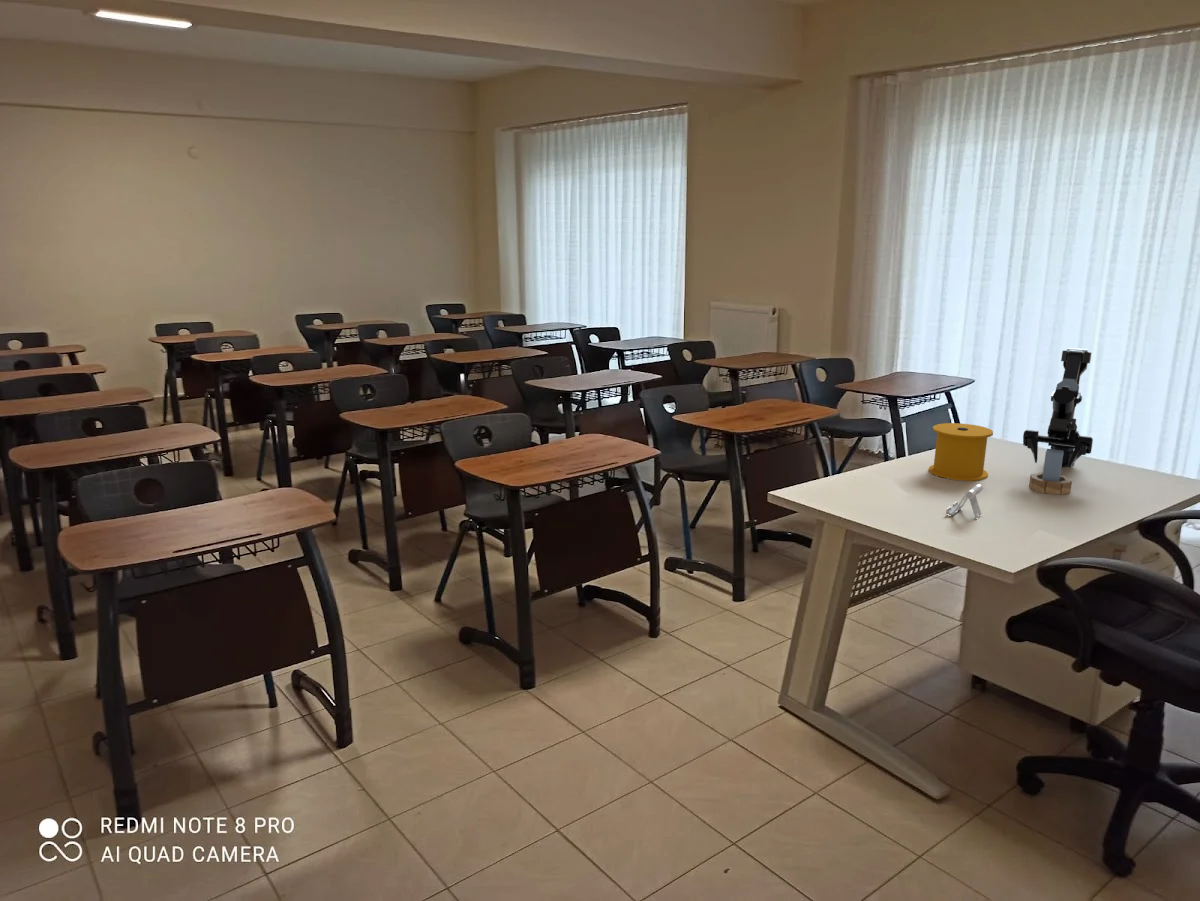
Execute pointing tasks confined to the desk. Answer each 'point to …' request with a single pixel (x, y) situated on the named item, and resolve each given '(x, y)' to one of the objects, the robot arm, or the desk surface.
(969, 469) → the spool
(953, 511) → the portable electronic device stand
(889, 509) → the desk surface
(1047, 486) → the octagonal cardboard ring
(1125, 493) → the desk surface
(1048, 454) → the light blue block
